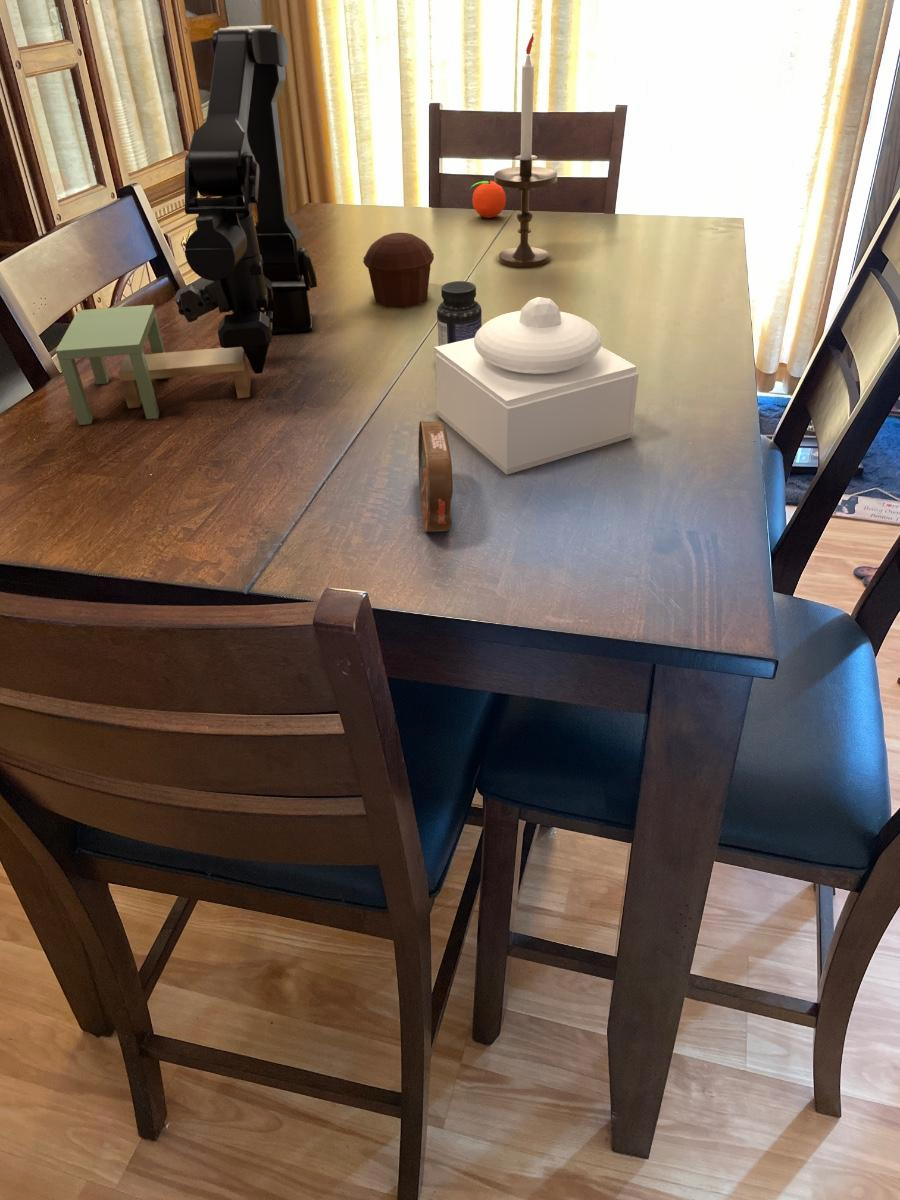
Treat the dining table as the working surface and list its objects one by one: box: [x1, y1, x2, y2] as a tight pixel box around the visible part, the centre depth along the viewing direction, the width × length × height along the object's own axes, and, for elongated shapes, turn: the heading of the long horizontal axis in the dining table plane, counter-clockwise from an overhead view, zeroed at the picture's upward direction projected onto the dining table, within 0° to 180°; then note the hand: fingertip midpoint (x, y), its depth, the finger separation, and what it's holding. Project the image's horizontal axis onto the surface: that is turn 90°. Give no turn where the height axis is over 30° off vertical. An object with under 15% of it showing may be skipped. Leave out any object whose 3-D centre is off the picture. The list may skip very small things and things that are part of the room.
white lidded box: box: [433, 296, 639, 476], centre depth 105 cm, size 18×18×16 cm
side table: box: [55, 304, 170, 426], centre depth 116 cm, size 10×14×10 cm
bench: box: [118, 347, 252, 409], centre depth 118 cm, size 16×6×5 cm, turn 98°
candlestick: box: [493, 32, 558, 269], centre depth 150 cm, size 11×11×35 cm
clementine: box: [467, 179, 507, 219], centre depth 181 cm, size 8×7×7 cm
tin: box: [418, 420, 454, 533], centre depth 92 cm, size 15×3×8 cm, turn 5°
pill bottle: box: [436, 280, 483, 346], centre depth 121 cm, size 6×6×11 cm
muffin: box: [362, 232, 435, 309], centre depth 143 cm, size 12×11×10 cm
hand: (258, 372), depth 119 cm, fingers closed, pressing on bench
